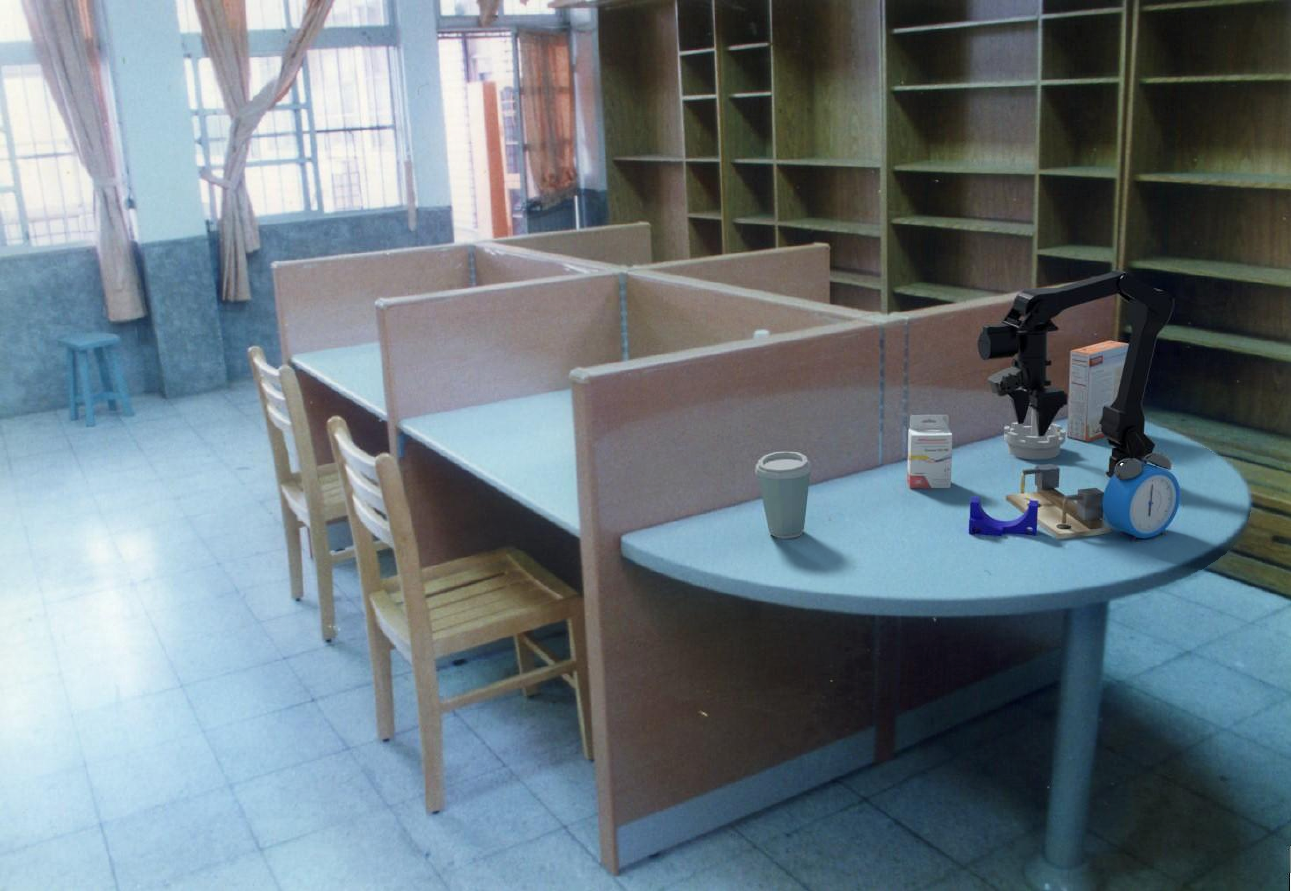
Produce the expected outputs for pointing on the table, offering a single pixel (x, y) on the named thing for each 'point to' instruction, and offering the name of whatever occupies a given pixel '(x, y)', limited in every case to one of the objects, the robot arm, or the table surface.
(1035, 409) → the robot arm
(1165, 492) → the alarm clock
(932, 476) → the ink cartridge box
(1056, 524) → the hole plate
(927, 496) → the table surface
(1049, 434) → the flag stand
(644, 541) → the table surface
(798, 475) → the disposable coffee cup
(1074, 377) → the cracker box
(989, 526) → the blue cradle bracket
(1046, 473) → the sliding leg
